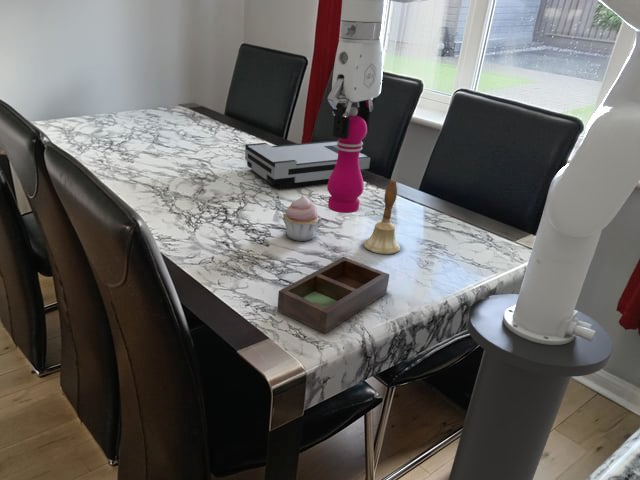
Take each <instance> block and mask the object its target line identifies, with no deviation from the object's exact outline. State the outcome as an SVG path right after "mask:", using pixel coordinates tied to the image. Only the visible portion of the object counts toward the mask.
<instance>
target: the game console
mask: <svg viewBox="0 0 640 480" xmlns="http://www.w3.org/2000/svg"><path fill="white" fill-rule="evenodd" d="M336 146H337V140H324V141H312V142H303V143H292V144H291V143H290V144H289V143H288V144H280V145H270V144H268V143H267V142H258V143H247V144H246V143H245V146H244V160H246V166H247V167H248V168H250V169H251V170H252V172H253V173H255V174H256V175H258V176H259V177H261V178H263V179H264V180H266V181H268V182H270V185H272V186H273V187H275V188H276V189H277V190H279V191H283V190H290V189H300V188H306V187H307V188H308V187H314V186H315V187H316V186H323V185H328V181H329V178H330V176H331V174H332V172H333V170H334V168H335V166H336V163H337V159H338V149H337V148H336ZM370 165H371V157H370V156H368V155H367V154H364V153H361V152H360V154H359V167H360V171H361V170H369V169H370Z"/></svg>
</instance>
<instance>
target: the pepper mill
mask: <svg viewBox="0 0 640 480" xmlns="http://www.w3.org/2000/svg"><path fill="white" fill-rule="evenodd" d="M358 110H359V109H358V107H355V106H351V108H350V111H349V115H348V117H350V126H349V136H348V139H342V138H338V140H336V142H337V146H336V148H337V149H338V159H337V163H336V166H335V168H334V170H333V172H332V174H331V176H330V178H329V181H328V184H326V185H327V186H326V190H327V192H328V193H329V195H330V196H329V197H328V201H327V202H328V203H327V207H328V209H329V210H330V211H332V212H335V213H341V214H351V213H355V212H357V211H358V210H359V209H360V204H361V203H360V201H361V200H360V199H359V197H361V195H363V192H364V185H365V184H364V177H363V175H362V171H361V170H360V167H359V154H360V153H361V151H362V150H363V145H364V142H363V139H364V138H366V136H367V134H368V133H367V124H366V122H365V120H364V119H363V118H361V117H359V116H356V115H357V113H358Z"/></svg>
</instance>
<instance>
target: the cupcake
mask: <svg viewBox="0 0 640 480" xmlns="http://www.w3.org/2000/svg"><path fill="white" fill-rule="evenodd" d="M321 219H322V217H321V216H320V215H319V213H318V207H317V205H315V203H314V202H313V201H310V200H309V199H308V198H307V197H306V196H304V195H302V196H301V197H300V198H298V199H295V200H294V201H292V202H291V204H290V205H289V206H288V207H287V209H286V212H285V213H282V221H283V223H284V225H285V231H286V235H287V237H288V238H289V239H290V240H293V241H299V242H306V241H310V240H312V239H313V238H314V237H315V234H316V231H317V228H318V227H319V225H320V224H321V223H322V220H321Z"/></svg>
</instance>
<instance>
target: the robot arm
mask: <svg viewBox="0 0 640 480" xmlns="http://www.w3.org/2000/svg"><path fill="white" fill-rule="evenodd" d="M424 1H427V0H390V2H396V3H403V4H406V3H407V4H409V3H416V2H419V3H420V2H424ZM598 1H599V2H600V3H602V4H603V5H604V6H605V7H606V8H608V9H609V10H610V11H611V12H612V13H614V14H615V15H616V16H618V17H619V18H620V19H621V20H622V21H623V22H625V23H626V24H627V25H628V26H630V27H631V28H632V29H634V30H635V40H634V42H633V43H634V44H633V47H632V50H631V51H630V54H629V56H628V57H627V59H626V61H625V63H624V64H623V66H622V68H621V69H620V72H619V74H618V76H617V78H616V79H615V81H614V83H613V84H612V86H611V88H610V89H609V91H608V93H607V94H606V95H605V97H604V99H603V101H602V103H600V105H599V106H598V108H597V109H596V111H595V113H593V115H592V116H591V118H590V120H589V121H588V122H587V125H586V129H585V134H584V136H583V138H582V140H581V142H580V144H579V145H578V147H577V149H576V151H575V152H574V154H573V156H572V158H571V160H570V161H569V163H567V164H566V165H565V166H563V167H562V168H561V169H559V170H558V171H557V173H556V174H555V175H554V177H553V178H552V180H551V182H550V185H549V188H548V192H547V195H546V200H545V204H544V207H543V211H542V215H541V218H540V222H539V224H538V229H537V232H536V235H535V239H534V241H533V245H532V248H531V251H530V255H529V258H528V261H527V265H526V268H525V272H524V276H523V279H522V282H521V286H520V289H519V293H518V294H519V296H518V299H517V302H516V306H513V307H510V308H508V309H507V310H506V311H505V313H504V316H503V322H504V324H505V325H506V327H507V328H508V329H509V330H510V331H512V332H513V333H515V334H516V335H518V336H520V337H522V338H524V339H527V340H529V341H532V342H536V343H540V344H546V345H562V344H566V343H569V342H571V341H572V340H573V339H574V338H575V335H577V336H580V337H581V338H584V339H586V340H589V341H592V340H593V338H594V336H595V333H596V331H594V330H591V327H592V325H591V324H588V323H586V322H582V321H579V319H578V318H576V315H577V313H578V311H579V310H578V309H576V306H577V303H578V300H579V298H580V294H581V291H582V288H583V285H584V283H585V281H586V277H587V274H588V272H589V269H590V266H591V263H592V261H593V259H594V256H595V253H596V251H597V247H598V244H599V241H600V238H601V235H602V231H603V230H604V229H605V228H606V227H607V226H609V224H611V222H612V221H613V220H614V218H615V217H616V216H617V215H618V213H619V212H620V210H621V209H622V207H623V206H624V204H625V203H626V202H627V200H628V198H629V197H630V195H631V194H632V193H633V191H634V190H635V189H636V187H637V186H638V184H639V183H640V0H598ZM386 7H387V0H341V13H340V25H339V35H338V36H339V38H338V44H337V49H336V53H335V58H334V59H335V60H334V65H333V73H332V81H331V82H332V83H331V90H330V92H329V94H328V96H327V102H328V103H329V106H330V108H331V111H332V115H333V129H332V137H334V138H337V139H339V138H342V139H348V136H349V126H350V117H348V115H349V111H350V108H351V107H352V104H353V103H356V105H357V107H356V108H357V110H358V113H357V115H356V116H359V117H361V118H363V119H364V120H365V122H366V124H367V134H368V133H369V130H370V121H371V113H372V111H373V110H374V103H375V102H376V100H377V98H378V97H379V96H380V94H381V92H382V83H383V81H382V80H383V70H384V69H383V67H384V45H383V44H384V43H383V33H384V24H385V16H386ZM343 104H345V105H343ZM574 309H576V310H574ZM577 310H578V311H577Z"/></svg>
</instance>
